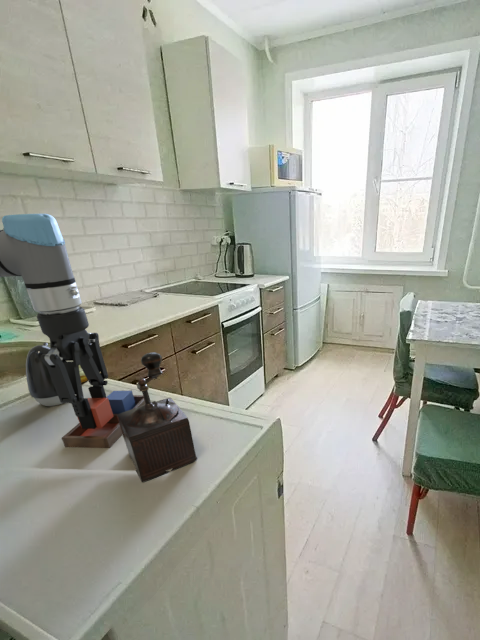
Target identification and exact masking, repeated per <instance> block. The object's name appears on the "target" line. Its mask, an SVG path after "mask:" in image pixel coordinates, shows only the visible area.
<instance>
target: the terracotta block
mask: <svg viewBox="0 0 480 640" xmlns="http://www.w3.org/2000/svg"><path fill="white" fill-rule="evenodd" d="M86 398H87V399H88V402H89V404H90V407H91V411H92V414H93V417H94V420H95V423H96V426H97V427H96V428H102V427H103V426H104V425H105V424H106V423H107V422H108V421H109V420H110V419H111V418H113V417H114V416H113V413H112V409H111V406H110V403H109V400H108V398H91V397H86ZM76 417H77V416H76ZM77 420H78V422H79V423H80V421H79V418H78V417H77ZM79 423H78V424H79ZM80 426H81V424H80ZM81 428H82V427H81Z"/></svg>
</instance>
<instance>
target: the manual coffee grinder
mask: <svg viewBox="0 0 480 640" xmlns="http://www.w3.org/2000/svg"><path fill="white" fill-rule="evenodd" d="M162 361H163V356H162V355H161V354H160V353H158V352H155V351H153V352H152V351H151V352H147V353H145V354H143V355H142V357H141V358H140V362H141V365H142V366H144V367H145V368H146V369H147V378H140V379H138V381H137V384H136V387H137V388H136V389H138V391H139V392H141V393H142V395H143V397H144V400H145V404H144V405H142V406H140V407H138V408H134V409H131V410H128V411H126V412H123V413H120V414H117V418H118V421H119V424H120V428H121V431H122V437H123V440H124V443H125V446H126V449H127V452H128V456H129V458H130V460H131V462H132V464H133V466H134V468H135V469H136V470H134V471H135V473H136V474H137V476H138V478H139V480H140V481H141V483H145V482H147V481H151V480H153V479H155V478H156V479H157V478H158V477H160V476H164V475H166V474H169V473H171V472H173V471H175V470H177V469H181V468H183V467H185V466H187V465H190V464H192V463H194V462H196V461H197V460H198V457H197V454H196V449H195V445H194V439H193V435H192V429H191V424H190V421H189V418H188V417H187V415H186V414H185V412H184V411H183V410H182V409H181V408H180V406H178V404H177V402H176V401H174V400H173V398H172V397H167V398H163V399H160V400H157V401H156V400H154V401H151V397H150V394H149V389H150V387H149V386H148V385H147V384H148V383H149V382H151V381H152V380H154V379H155V380H157V379H158V377H160V376H161V375H163V371H162V370H161V363H162Z"/></svg>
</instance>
